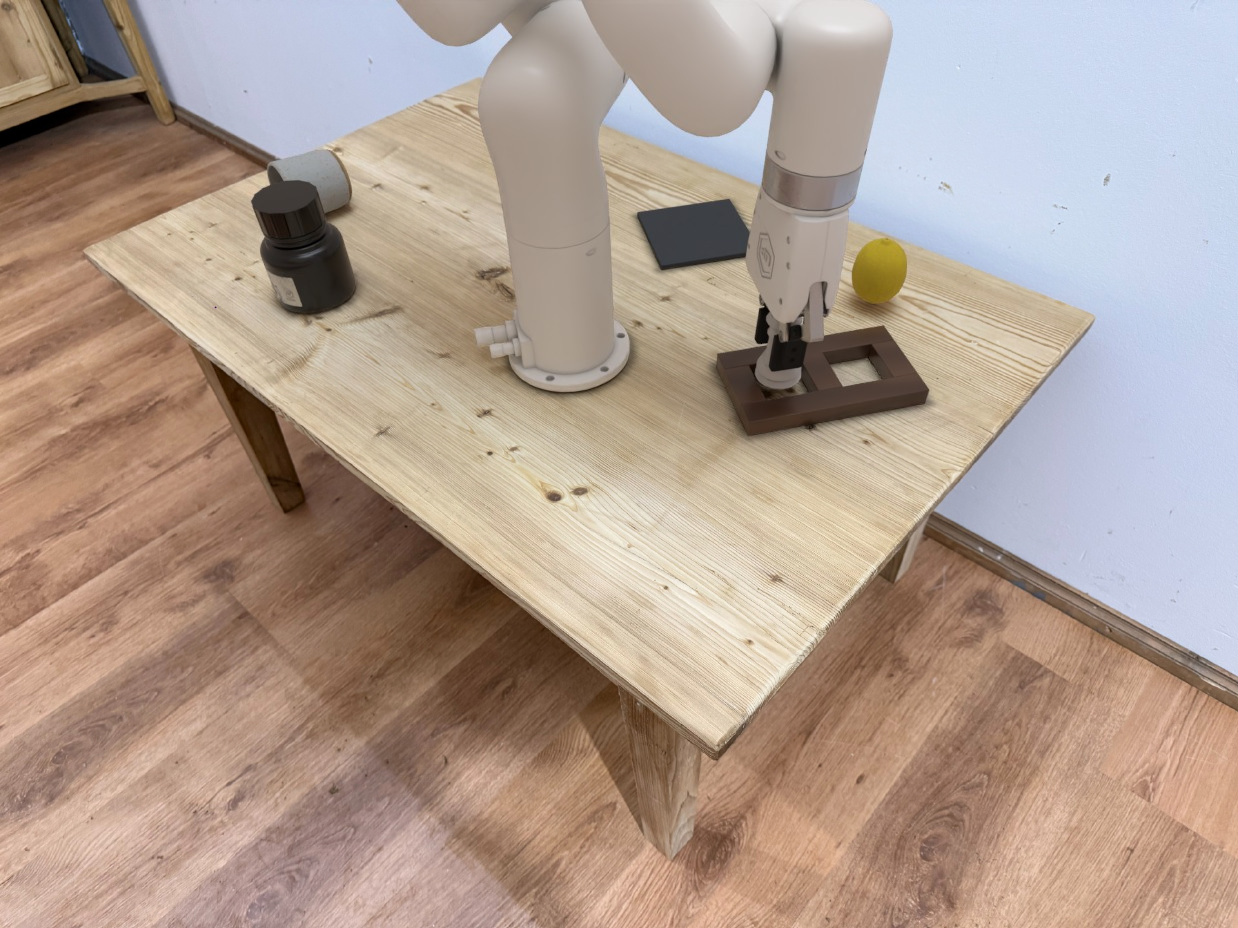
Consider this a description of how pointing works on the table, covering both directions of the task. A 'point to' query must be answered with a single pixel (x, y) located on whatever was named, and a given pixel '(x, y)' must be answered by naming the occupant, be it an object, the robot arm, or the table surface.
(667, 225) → the mat
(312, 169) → the ceramic mug
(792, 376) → the rook chess piece
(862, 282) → the lemon
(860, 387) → the frame
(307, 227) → the ink bottle
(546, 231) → the robot arm
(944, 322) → the table surface
